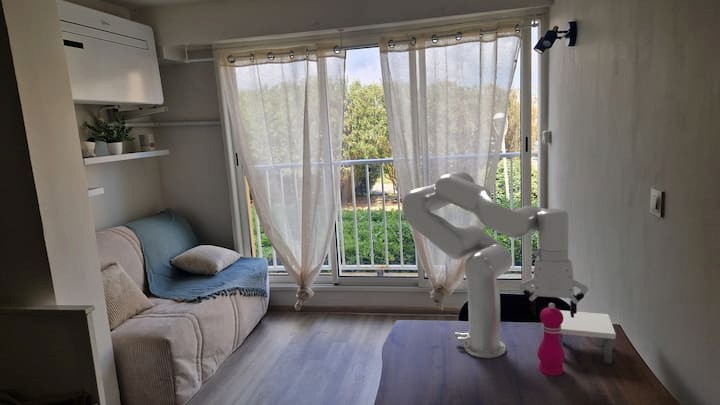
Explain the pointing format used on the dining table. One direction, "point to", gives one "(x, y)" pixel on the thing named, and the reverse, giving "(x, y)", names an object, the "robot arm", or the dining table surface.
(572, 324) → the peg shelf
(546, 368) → the pepper mill
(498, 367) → the dining table surface
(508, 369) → the dining table surface
